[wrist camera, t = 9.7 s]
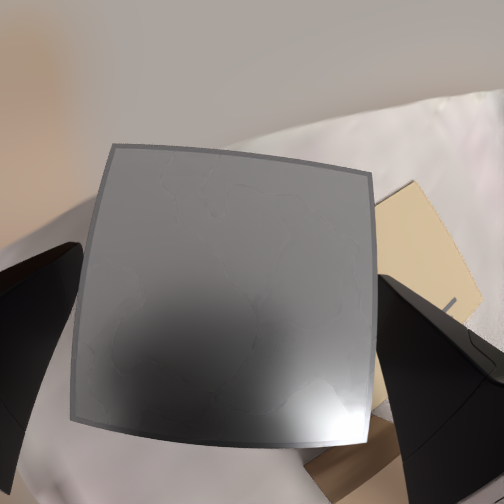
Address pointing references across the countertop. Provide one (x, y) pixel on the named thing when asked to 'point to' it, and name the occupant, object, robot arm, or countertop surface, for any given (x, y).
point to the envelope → (421, 260)
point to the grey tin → (227, 300)
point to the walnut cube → (363, 469)
